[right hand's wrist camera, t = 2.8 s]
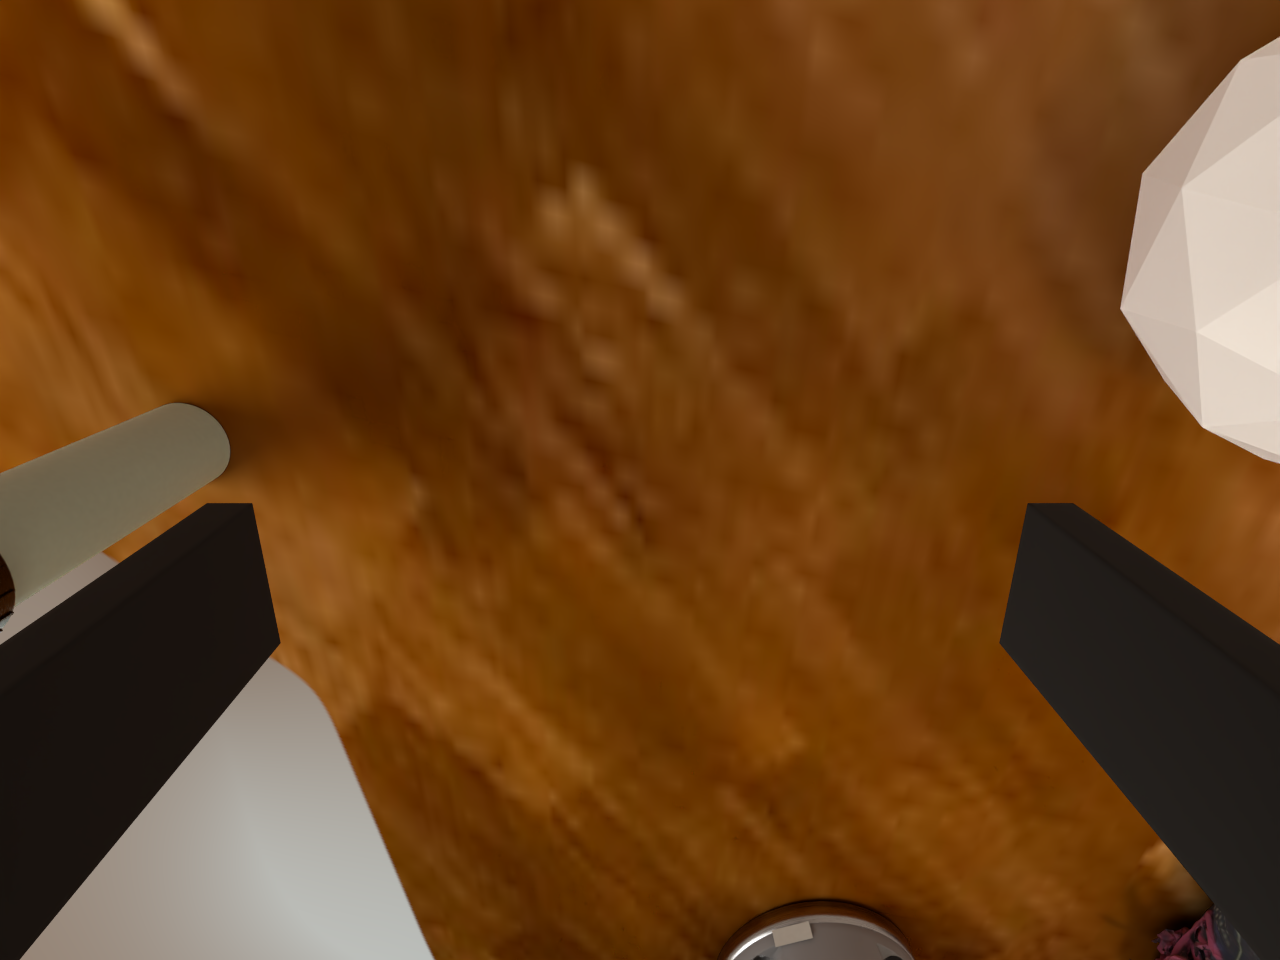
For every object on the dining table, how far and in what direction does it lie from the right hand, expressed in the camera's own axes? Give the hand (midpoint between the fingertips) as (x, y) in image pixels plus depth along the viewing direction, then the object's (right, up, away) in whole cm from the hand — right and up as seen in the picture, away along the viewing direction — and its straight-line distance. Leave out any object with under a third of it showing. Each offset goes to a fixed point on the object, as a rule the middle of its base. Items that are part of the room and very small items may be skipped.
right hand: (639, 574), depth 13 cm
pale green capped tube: (-26, +4, +29) cm, 39 cm away
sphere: (+30, +14, +25) cm, 42 cm away
